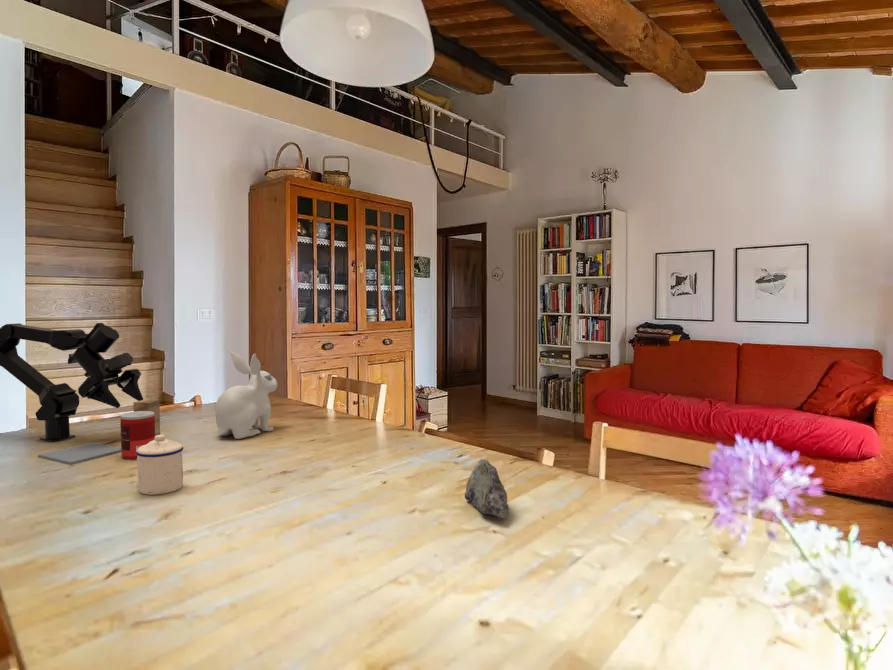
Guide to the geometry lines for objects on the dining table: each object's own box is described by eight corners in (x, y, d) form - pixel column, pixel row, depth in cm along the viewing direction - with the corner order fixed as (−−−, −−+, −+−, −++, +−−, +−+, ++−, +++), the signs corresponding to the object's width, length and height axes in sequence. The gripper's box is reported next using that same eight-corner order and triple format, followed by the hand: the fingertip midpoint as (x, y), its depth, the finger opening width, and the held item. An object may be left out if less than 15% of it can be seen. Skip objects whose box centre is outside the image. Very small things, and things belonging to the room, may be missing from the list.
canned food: (161, 451, 151) (160, 411, 150) (142, 460, 143) (141, 417, 142) (134, 450, 152) (133, 410, 151) (114, 459, 144) (113, 416, 143)
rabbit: (288, 429, 177) (287, 350, 176) (231, 443, 160) (230, 355, 158) (263, 424, 184) (262, 348, 182) (206, 437, 166) (205, 353, 164)
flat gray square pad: (38, 456, 145) (38, 454, 145) (93, 444, 157) (93, 442, 157) (70, 464, 139) (70, 462, 139) (125, 450, 151) (125, 448, 151)
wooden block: (134, 444, 157) (133, 402, 156) (145, 440, 162) (144, 399, 161) (150, 445, 157) (149, 403, 156) (161, 441, 161) (160, 400, 160)
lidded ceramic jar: (193, 485, 124) (192, 433, 124) (155, 498, 116) (154, 443, 116) (158, 477, 130) (156, 427, 129) (119, 488, 122) (117, 435, 121)
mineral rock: (504, 527, 103) (505, 474, 103) (449, 520, 107) (449, 468, 106) (518, 503, 116) (519, 455, 115) (468, 497, 119) (468, 450, 118)
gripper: (85, 347, 149) (125, 389, 149) (134, 341, 168) (169, 379, 167) (60, 376, 151) (99, 418, 150) (111, 367, 170) (146, 404, 169)
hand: (130, 403), depth 159 cm, fingers open, 9 cm apart
